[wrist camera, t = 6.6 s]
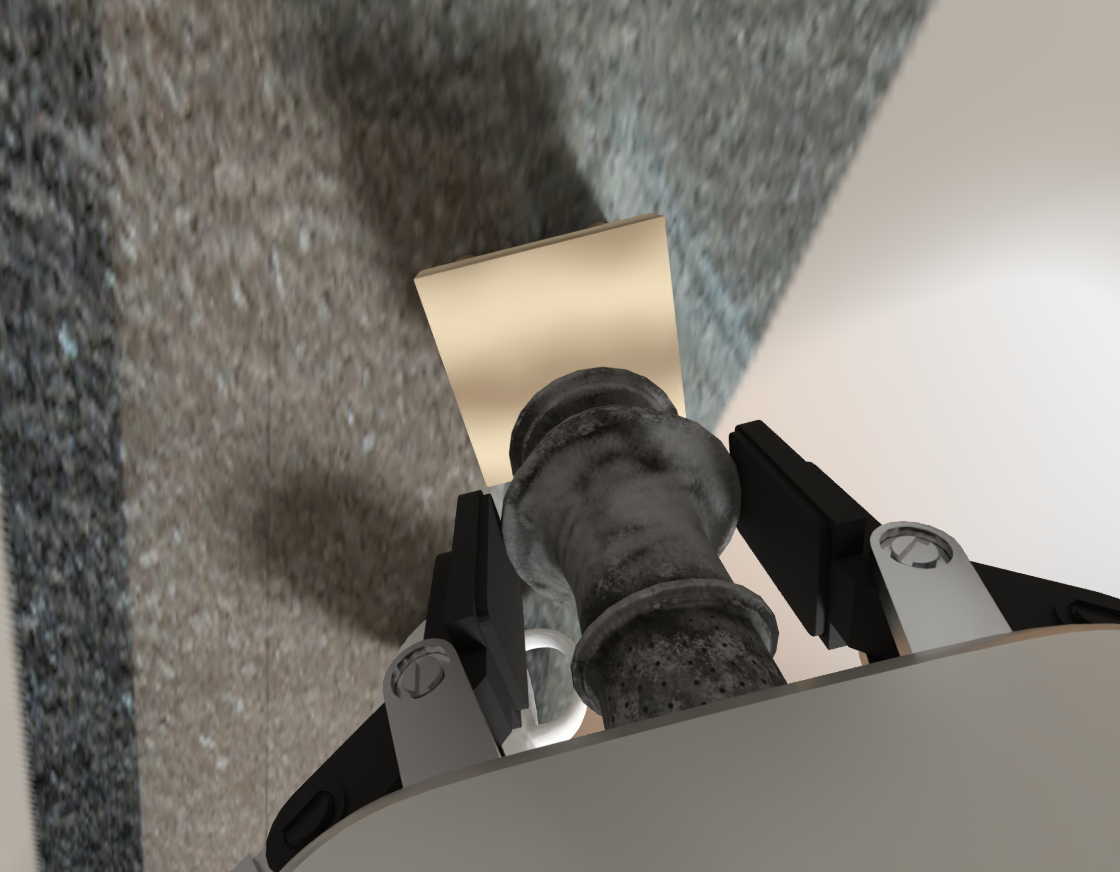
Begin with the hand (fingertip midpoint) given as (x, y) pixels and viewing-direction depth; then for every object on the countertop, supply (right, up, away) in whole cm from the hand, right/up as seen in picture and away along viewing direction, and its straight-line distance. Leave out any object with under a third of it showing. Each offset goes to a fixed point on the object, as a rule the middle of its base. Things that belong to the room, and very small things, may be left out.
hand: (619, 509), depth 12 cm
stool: (-2, +9, +16) cm, 18 cm away
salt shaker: (0, +1, +3) cm, 3 cm away
